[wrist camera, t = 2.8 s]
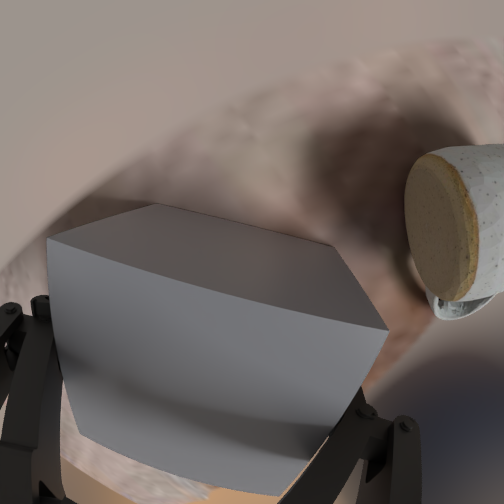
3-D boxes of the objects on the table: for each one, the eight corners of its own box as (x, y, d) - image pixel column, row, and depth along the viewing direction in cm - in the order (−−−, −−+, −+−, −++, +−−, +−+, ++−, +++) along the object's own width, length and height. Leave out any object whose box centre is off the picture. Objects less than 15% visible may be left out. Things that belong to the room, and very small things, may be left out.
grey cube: (143, 347, 18) (79, 433, 10) (157, 203, 15) (46, 237, 7) (283, 386, 18) (279, 496, 9) (334, 247, 15) (389, 331, 7)
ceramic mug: (386, 153, 13) (468, 145, 6) (488, 143, 12) (572, 145, 5) (401, 323, 16) (451, 403, 9) (491, 292, 15) (553, 344, 7)
